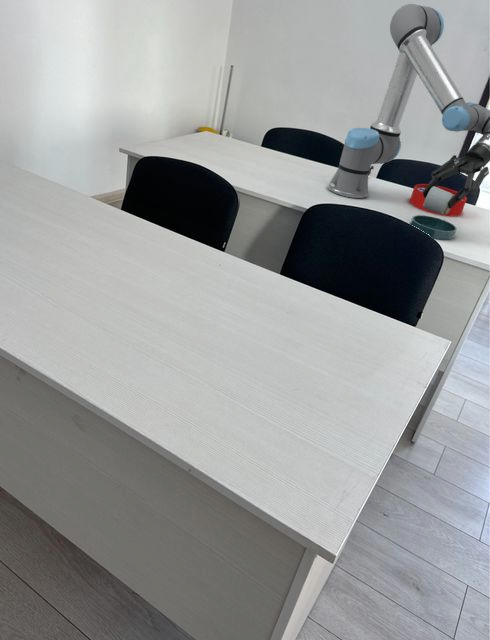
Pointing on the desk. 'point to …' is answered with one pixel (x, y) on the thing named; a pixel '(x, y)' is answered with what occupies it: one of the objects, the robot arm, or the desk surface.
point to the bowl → (434, 227)
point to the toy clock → (418, 198)
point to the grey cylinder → (438, 200)
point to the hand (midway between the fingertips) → (436, 200)
